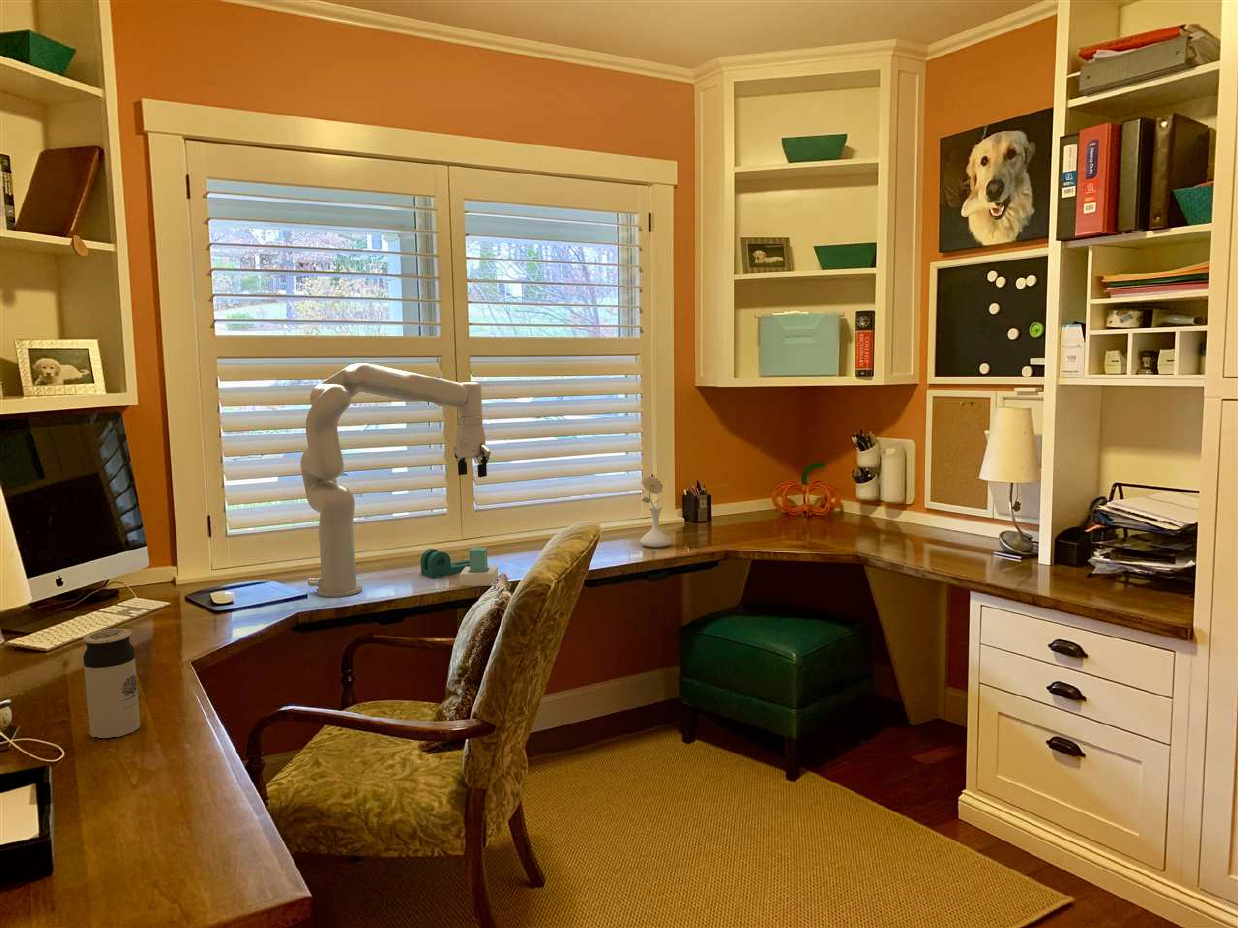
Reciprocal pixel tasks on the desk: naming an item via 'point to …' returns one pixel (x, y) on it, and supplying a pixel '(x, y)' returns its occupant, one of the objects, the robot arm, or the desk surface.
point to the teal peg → (478, 560)
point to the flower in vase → (654, 516)
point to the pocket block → (478, 577)
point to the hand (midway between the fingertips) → (472, 475)
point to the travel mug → (111, 683)
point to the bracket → (440, 564)
